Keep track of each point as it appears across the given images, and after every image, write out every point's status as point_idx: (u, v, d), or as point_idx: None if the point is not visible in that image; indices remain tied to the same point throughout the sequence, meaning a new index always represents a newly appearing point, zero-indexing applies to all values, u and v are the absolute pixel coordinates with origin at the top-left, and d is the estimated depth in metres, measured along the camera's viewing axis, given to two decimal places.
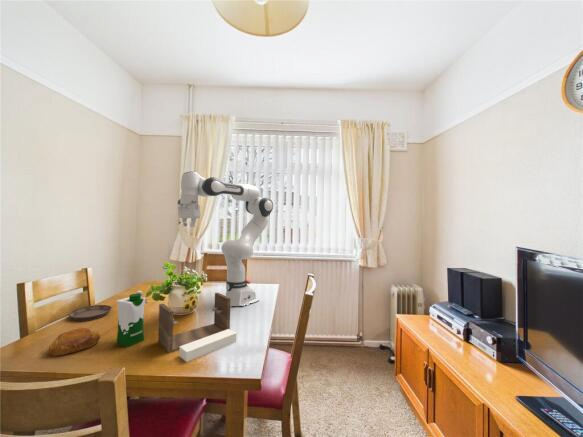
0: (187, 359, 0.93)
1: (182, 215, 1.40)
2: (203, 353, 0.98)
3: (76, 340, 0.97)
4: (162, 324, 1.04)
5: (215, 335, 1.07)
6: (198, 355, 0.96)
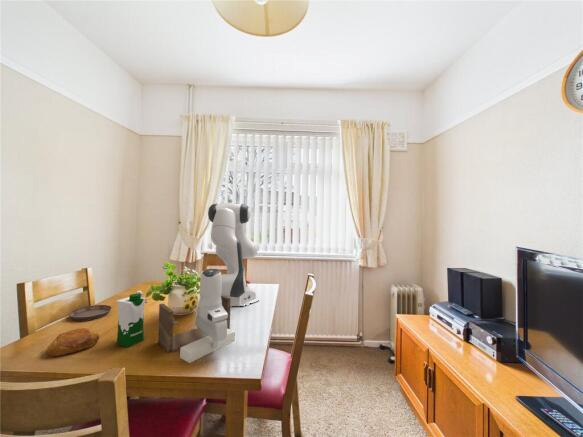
0: (190, 359, 0.93)
1: None
2: (205, 353, 0.98)
3: (75, 341, 0.97)
4: (162, 324, 1.04)
5: None
6: (200, 355, 0.96)
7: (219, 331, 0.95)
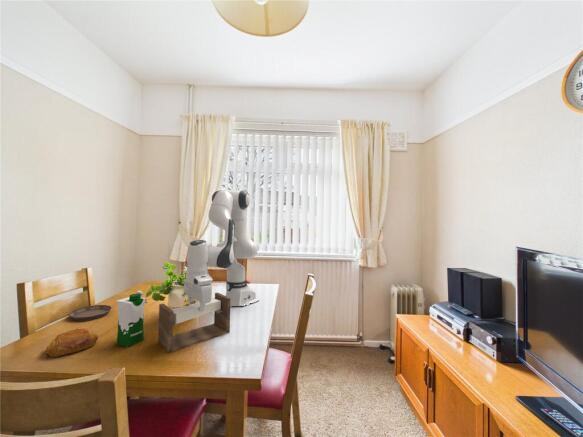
0: (176, 320, 1.02)
1: None
2: (191, 316, 1.07)
3: (73, 341, 0.97)
4: (162, 324, 1.04)
5: None
6: (186, 318, 1.06)
7: (204, 293, 1.05)
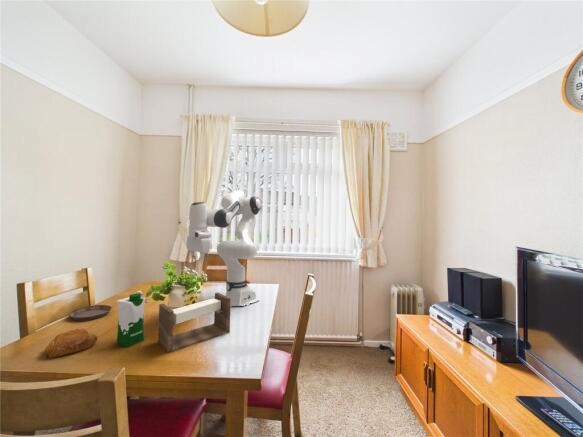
0: (176, 321, 1.02)
1: None
2: (191, 316, 1.07)
3: (72, 342, 0.96)
4: (162, 324, 1.04)
5: (201, 302, 1.16)
6: (186, 318, 1.06)
7: (203, 244, 1.23)
